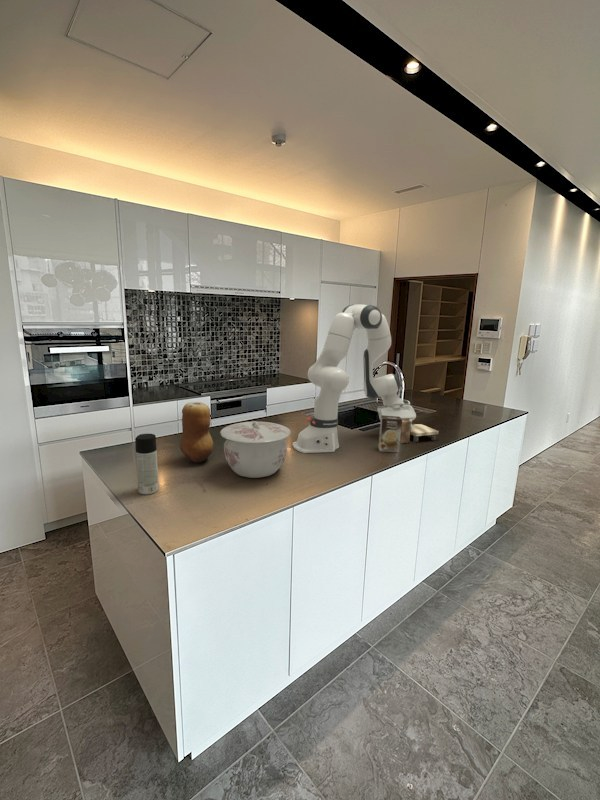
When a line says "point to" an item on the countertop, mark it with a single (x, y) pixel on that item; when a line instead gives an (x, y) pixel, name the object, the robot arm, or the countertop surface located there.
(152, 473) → the spray can
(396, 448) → the coffee box
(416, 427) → the peg shelf
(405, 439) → the walnut block
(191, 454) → the butternut squash
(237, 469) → the chamber pot
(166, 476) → the countertop surface
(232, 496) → the countertop surface
